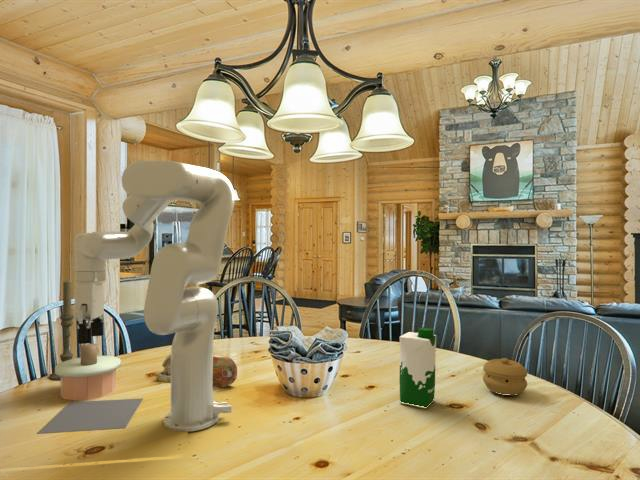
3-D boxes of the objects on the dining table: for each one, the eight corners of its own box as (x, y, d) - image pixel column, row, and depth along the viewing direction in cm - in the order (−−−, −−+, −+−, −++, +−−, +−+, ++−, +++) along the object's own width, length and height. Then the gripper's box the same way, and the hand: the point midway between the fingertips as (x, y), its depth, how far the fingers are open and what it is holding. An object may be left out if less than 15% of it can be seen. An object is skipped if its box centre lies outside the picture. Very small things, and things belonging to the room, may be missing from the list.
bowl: (120, 384, 126) (120, 360, 126) (106, 400, 113) (106, 374, 113) (72, 386, 123) (72, 362, 123) (52, 403, 111) (53, 376, 111)
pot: (484, 397, 119) (484, 361, 119) (481, 384, 130) (481, 351, 130) (530, 403, 115) (531, 366, 115) (523, 388, 126) (524, 355, 126)
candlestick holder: (52, 372, 135) (53, 278, 135) (85, 370, 139) (86, 277, 139) (45, 381, 127) (46, 281, 127) (80, 378, 130) (81, 280, 130)
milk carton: (428, 411, 108) (429, 333, 108) (395, 404, 113) (396, 328, 113) (438, 400, 116) (439, 327, 116) (406, 394, 121) (407, 323, 121)
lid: (127, 358, 128) (127, 338, 128) (111, 375, 112) (111, 352, 112) (68, 360, 125) (68, 339, 125) (44, 378, 109) (44, 354, 109)
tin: (192, 381, 129) (193, 353, 129) (200, 378, 132) (200, 351, 132) (231, 389, 122) (232, 360, 122) (238, 386, 125) (239, 357, 125)
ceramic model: (175, 369, 141) (175, 339, 141) (206, 372, 139) (207, 341, 139) (149, 383, 127) (150, 349, 127) (184, 386, 125) (184, 352, 125)
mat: (143, 400, 113) (143, 398, 113) (125, 430, 96) (125, 427, 96) (69, 404, 110) (69, 402, 110) (36, 436, 92) (36, 433, 92)
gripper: (87, 275, 126) (87, 334, 126) (62, 280, 109) (63, 347, 109) (114, 275, 127) (114, 332, 127) (94, 279, 110) (95, 345, 110)
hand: (91, 339), depth 118 cm, fingers open, 9 cm apart
